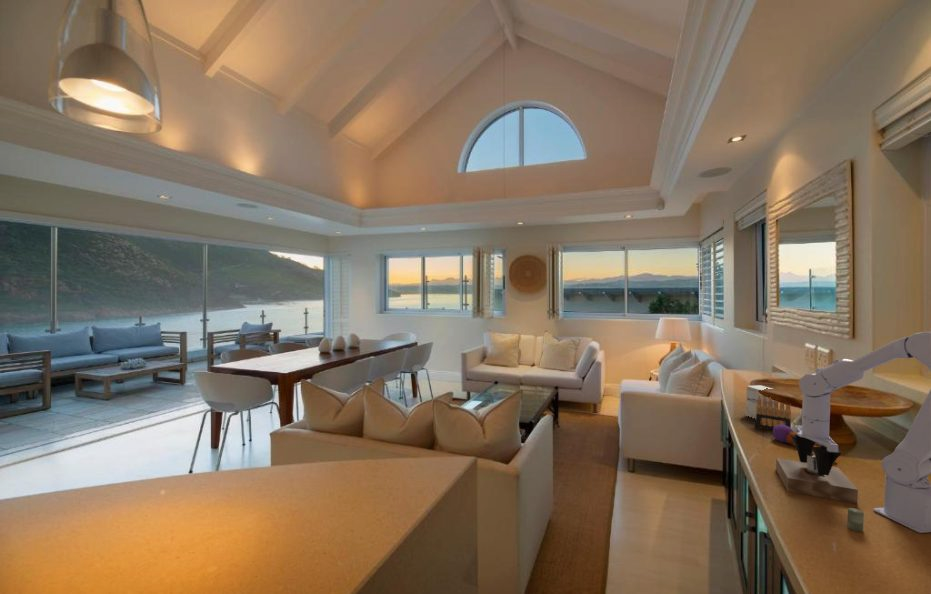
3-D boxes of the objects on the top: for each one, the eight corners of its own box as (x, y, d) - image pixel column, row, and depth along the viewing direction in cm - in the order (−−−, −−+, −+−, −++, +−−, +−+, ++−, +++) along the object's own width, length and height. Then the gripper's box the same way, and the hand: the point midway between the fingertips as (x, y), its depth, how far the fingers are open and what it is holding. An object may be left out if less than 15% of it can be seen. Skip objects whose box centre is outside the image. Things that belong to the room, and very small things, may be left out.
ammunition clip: (755, 427, 161) (756, 395, 160) (755, 425, 162) (756, 394, 162) (790, 433, 154) (791, 400, 154) (790, 431, 156) (791, 399, 155)
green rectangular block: (866, 531, 93) (867, 513, 93) (856, 532, 92) (856, 514, 92) (853, 525, 95) (854, 507, 95) (843, 525, 95) (844, 508, 95)
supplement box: (745, 416, 174) (745, 385, 173) (760, 415, 175) (761, 384, 175) (760, 421, 167) (761, 390, 166) (776, 420, 168) (777, 389, 167)
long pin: (821, 487, 113) (822, 457, 113) (813, 488, 112) (814, 458, 112) (811, 482, 116) (812, 453, 115) (803, 483, 115) (804, 454, 115)
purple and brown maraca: (822, 450, 128) (767, 423, 148) (823, 468, 129) (768, 439, 149) (840, 446, 129) (782, 420, 149) (841, 464, 130) (783, 435, 149)
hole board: (837, 480, 117) (838, 467, 117) (857, 503, 105) (857, 489, 104) (775, 469, 123) (776, 458, 123) (787, 490, 111) (787, 477, 111)
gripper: (783, 409, 121) (781, 456, 122) (816, 426, 107) (814, 479, 107) (810, 410, 120) (809, 458, 120) (848, 428, 106) (846, 481, 106)
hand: (813, 468), depth 114 cm, fingers open, 7 cm apart
